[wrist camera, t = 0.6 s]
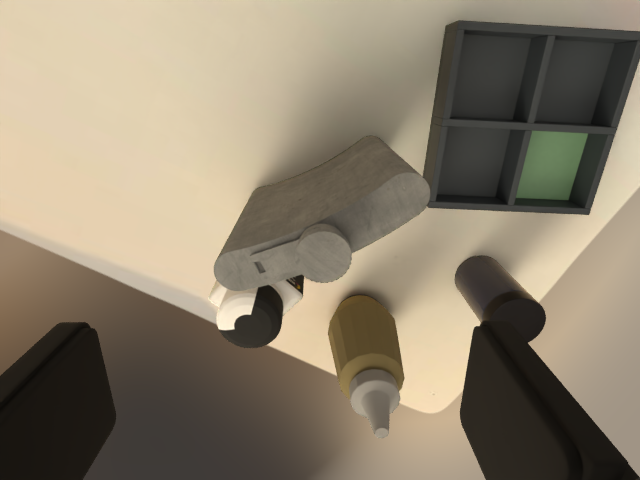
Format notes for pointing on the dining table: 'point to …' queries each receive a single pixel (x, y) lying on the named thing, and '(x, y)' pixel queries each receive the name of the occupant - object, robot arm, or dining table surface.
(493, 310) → the thermos
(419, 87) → the dining table surface
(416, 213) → the hip flask
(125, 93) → the dining table surface
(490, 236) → the dining table surface
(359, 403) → the squeeze bottle
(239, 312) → the medicine bottle
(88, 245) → the dining table surface
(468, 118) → the tray
